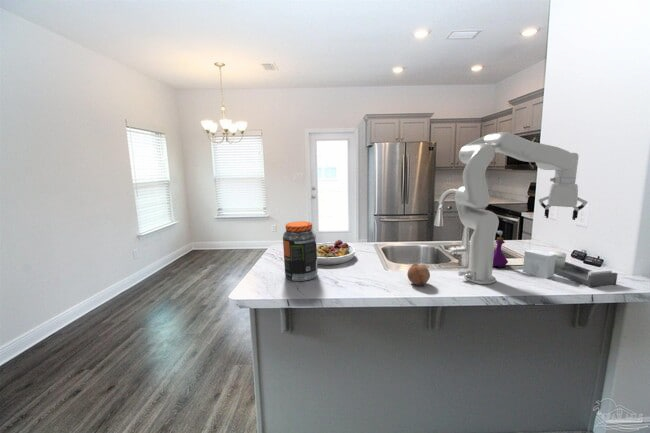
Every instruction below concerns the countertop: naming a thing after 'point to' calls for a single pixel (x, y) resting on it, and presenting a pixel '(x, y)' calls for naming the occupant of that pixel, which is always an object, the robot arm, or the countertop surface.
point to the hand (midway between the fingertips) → (560, 218)
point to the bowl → (334, 253)
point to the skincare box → (539, 263)
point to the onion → (418, 274)
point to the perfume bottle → (499, 252)
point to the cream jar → (559, 259)
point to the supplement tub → (300, 251)
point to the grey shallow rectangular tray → (586, 276)
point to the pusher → (599, 272)
